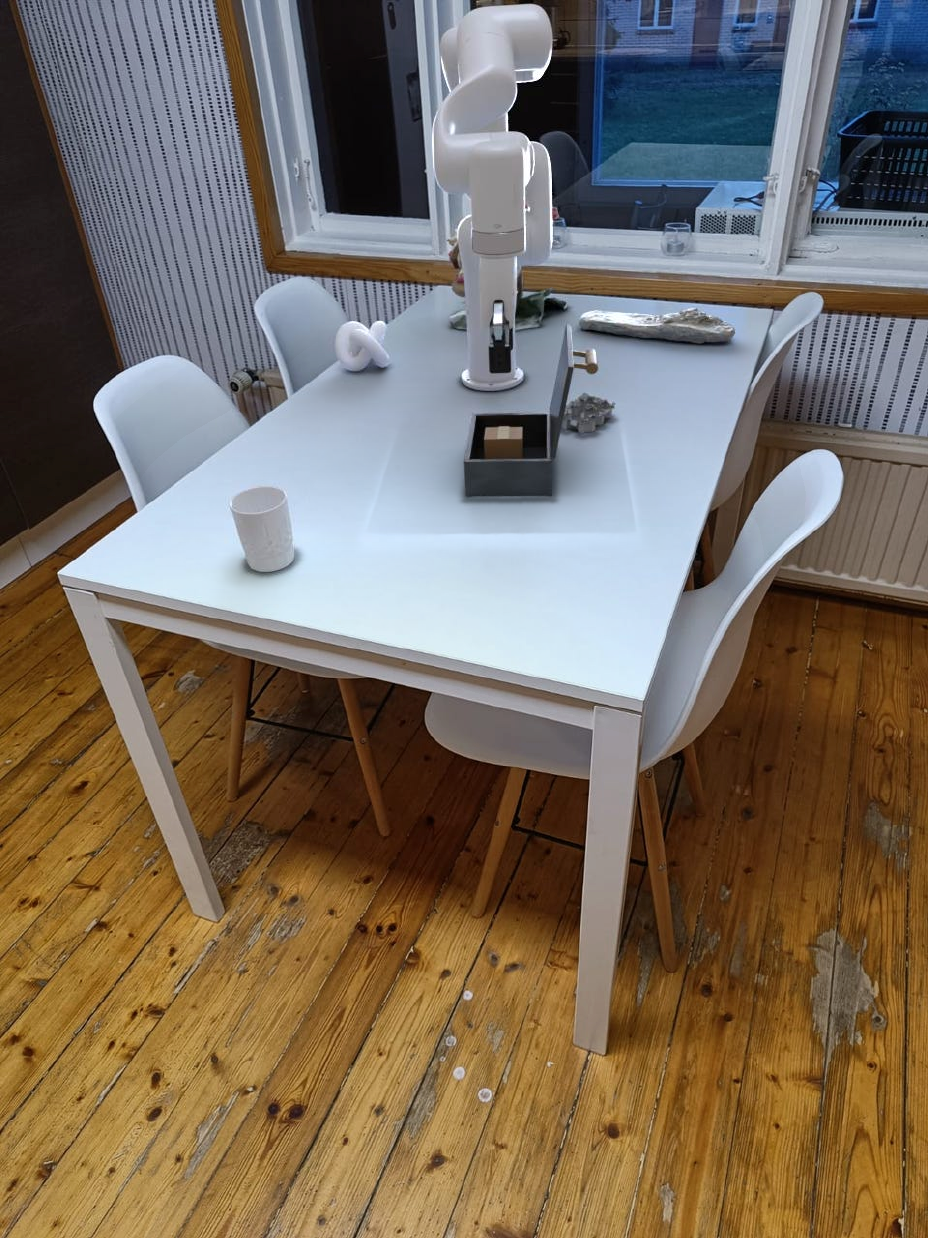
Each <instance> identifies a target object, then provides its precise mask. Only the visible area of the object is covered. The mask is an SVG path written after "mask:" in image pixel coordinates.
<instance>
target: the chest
mask: <svg viewBox="0 0 928 1238" xmlns="http://www.w3.org/2000/svg"><path fill="white" fill-rule="evenodd" d="M503 426H510V427H522V437H523V459H485V448H484V437H485V429H486V428H492V427H503ZM463 474H464V491H465V492H464V493H465V494H464V495H465V497H466V498H467V497H471V498H473V497H474V498H475V497H552V496H553V458H550V411H547V412H546V411H545V412H542V411H541V412H494V413H493V412H491V413H490V412H489V413H488V412H487V413H486V412H485V413H483V412H482V413H471V416H470V421H469V427H468V434H467V440H466V445H465V452H464V458H463Z"/></svg>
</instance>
